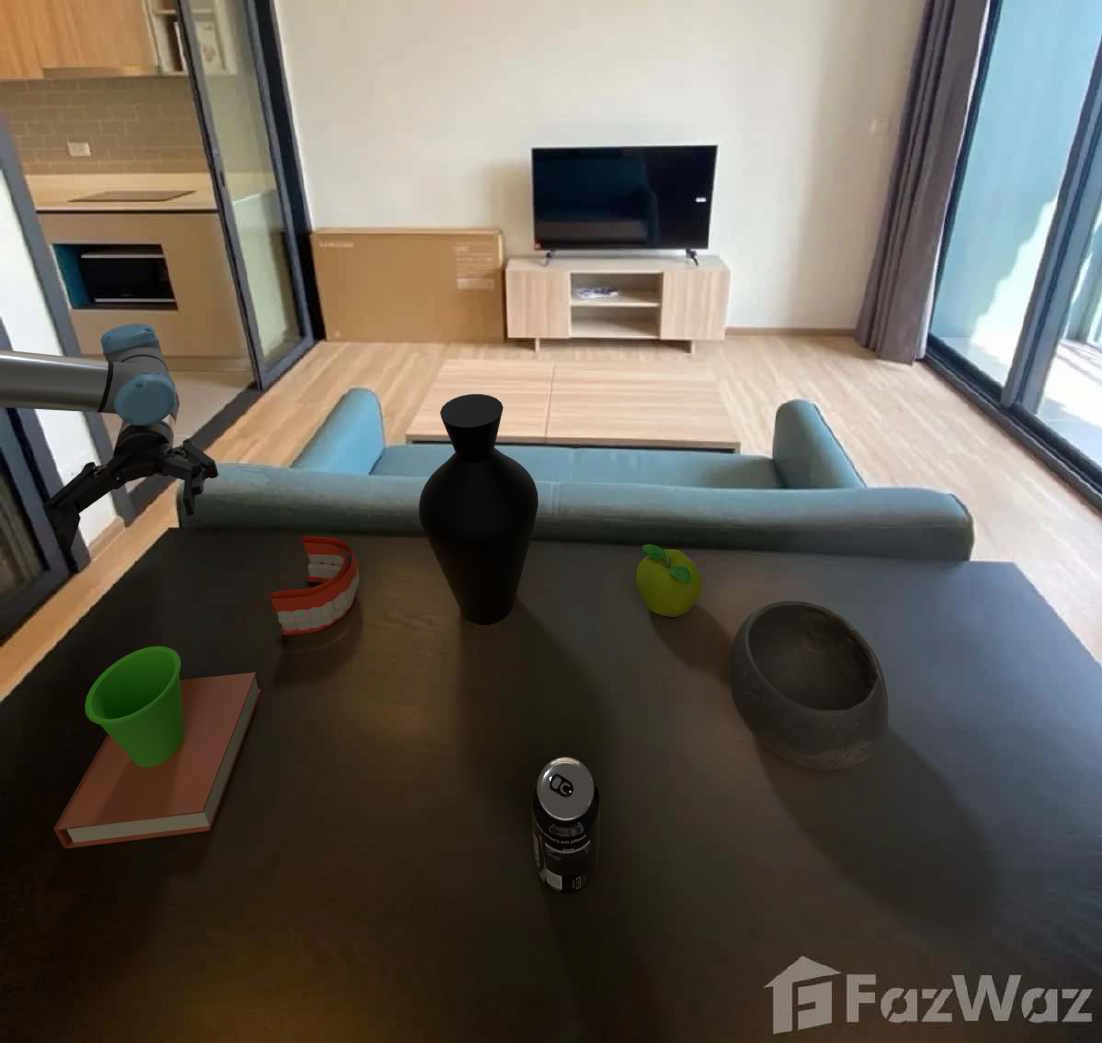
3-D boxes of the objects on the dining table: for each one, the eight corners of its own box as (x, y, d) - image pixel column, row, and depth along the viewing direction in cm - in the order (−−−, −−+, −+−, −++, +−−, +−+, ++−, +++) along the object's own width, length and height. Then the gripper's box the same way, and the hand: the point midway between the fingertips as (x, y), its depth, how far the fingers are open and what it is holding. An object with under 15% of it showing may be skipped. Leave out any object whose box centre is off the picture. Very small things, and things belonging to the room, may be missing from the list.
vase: (420, 581, 97) (395, 395, 83) (517, 547, 103) (508, 369, 90) (449, 670, 82) (424, 462, 69) (560, 624, 89) (556, 425, 76)
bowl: (907, 744, 72) (930, 673, 67) (811, 837, 64) (830, 763, 59) (785, 634, 86) (797, 569, 82) (694, 698, 78) (702, 629, 73)
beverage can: (554, 806, 67) (552, 737, 62) (609, 843, 64) (611, 772, 59) (521, 872, 61) (517, 802, 57) (580, 916, 58) (580, 845, 54)
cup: (135, 806, 64) (104, 740, 60) (101, 755, 69) (70, 691, 65) (217, 734, 71) (195, 671, 67) (181, 693, 76) (158, 632, 72)
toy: (348, 639, 87) (339, 599, 84) (278, 639, 87) (267, 599, 84) (372, 572, 99) (366, 534, 96) (311, 572, 99) (302, 535, 96)
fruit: (663, 642, 85) (667, 591, 82) (624, 596, 93) (626, 547, 89) (710, 614, 90) (716, 564, 86) (669, 573, 97) (673, 525, 93)
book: (64, 848, 64) (53, 829, 63) (143, 702, 79) (136, 684, 77) (210, 830, 65) (202, 811, 64) (261, 690, 80) (255, 672, 79)
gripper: (237, 438, 101) (241, 515, 83) (56, 484, 90) (16, 582, 73) (228, 400, 98) (229, 471, 80) (39, 442, 87) (-7, 534, 70)
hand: (128, 524), depth 76 cm, fingers open, 13 cm apart
